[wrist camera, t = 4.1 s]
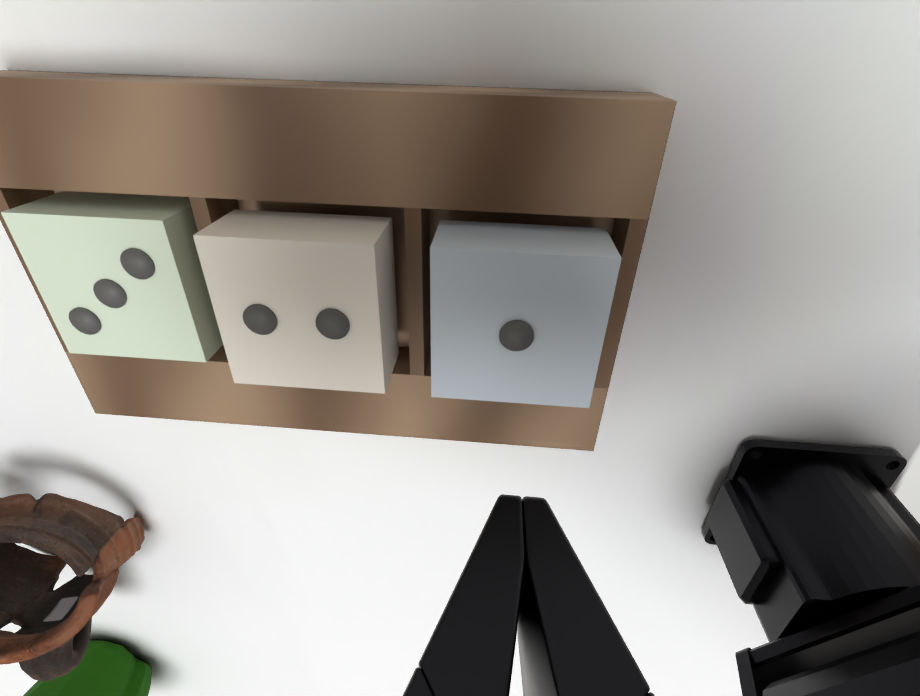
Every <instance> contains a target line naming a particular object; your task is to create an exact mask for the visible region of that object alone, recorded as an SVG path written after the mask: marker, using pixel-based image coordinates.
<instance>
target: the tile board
mask: <svg viewBox="0 0 920 696" xmlns="http://www.w3.org/2000/svg"><path fill="white" fill-rule="evenodd" d="M675 106H676V101H674V100H671V99H668V98H665V97H663V96H660V95H657V94H654V93H642V92H613V91H585V90H556V89H527V88H499V87H470V86H441V85H413V84H384V83H356V82H327V81H298V80H270V79H241V78H213V77H184V76H155V75H127V74H98V73H69V72H41V71H12V70H1V71H0V220H1V223H2V225H3V227H4V229H5V231H6V233H7V235H8V237H9V239H10V241H11V243H12V245H13V247H14V249H15V251H16V253H17V255H18V257H19V259H20V261H21V263H22V265H23V267H24V269H25V271H26V273H27V275H28V277H29V279H30V281H31V283H32V285H33V287H34V289H35V291H36V293H37V295H38V298H39V300H40V302H41V304H42V306H43V308H44V310H45V312H46V314H47V316H48V318H49V320H50V322H51V324H52V326H53V328H54V330H55V332H56V334H57V336H58V338H59V340H60V342H61V344H62V346H63V348H64V350H65V352H66V354H67V356H68V358H69V360H70V362H71V364H72V366H73V368H74V370H75V373H76V375H77V377H78V379H79V381H80V383H81V385H82V387H83V389H84V391H85V393H86V395H87V397H88V399H89V401H90V403H91V405H92V407H93V409H94V411H95V413H98V414H111V415H125V416H138V417H151V418H164V419H178V420H191V421H204V422H217V423H231V424H244V425H257V426H270V427H284V428H297V429H310V430H323V431H336V432H350V433H363V434H376V435H389V436H403V437H416V438H429V439H442V440H456V441H469V442H482V443H495V444H509V445H522V446H535V447H548V448H561V449H575V450H588V451H593V450H594V446H595V442H596V438H597V433H598V429H599V425H600V421H601V417H602V412H603V408H604V404H605V400H606V396H607V391H608V387H609V383H610V379H611V375H612V370H613V366H614V362H615V358H616V354H617V349H618V345H619V341H620V337H621V333H622V328H623V324H624V320H625V316H626V312H627V307H628V303H629V299H630V295H631V291H632V286H633V282H634V278H635V274H636V270H637V265H638V261H639V257H640V253H641V249H642V244H643V240H644V236H645V232H646V228H647V223H648V219H649V215H650V211H651V206H652V202H653V198H654V194H655V190H656V185H657V181H658V177H659V173H660V169H661V164H662V160H663V156H664V152H665V148H666V143H667V139H668V135H669V131H670V127H671V122H672V118H673V114H674V110H675ZM62 191H69V192H89V193H109V194H130V195H150V196H170V197H189V200H190V203H191V207H192V211H193V214H194V218H195V222H196V225H197V229H198V232H199V231H200V230H202V229H204V228H205V227H207V226H208V225H210V224H212V223H213V222H215V221H217V220H218V219H220V218H221V217H223V216H225V215H226V214H228V213H230V212H231V211H233V210H234V209H235V210H255V211H275V212H295V213H315V214H335V215H355V216H374V217H392V227H393V246H394V266H395V285H396V305H397V325H398V344H399V355H398V358H397V360H396V363H395V366H394V369H393V372H392V375H391V378H390V381H389V384H388V386H387V389H386V392H385V394H382V393H368V392H354V391H339V390H325V389H311V388H297V387H283V386H269V385H255V384H240V383H234V380H233V377H232V373H231V370H230V366H229V363H228V359H227V356H226V352H225V348H224V345H222V346H221V347H220V348H219V350H218V351H217V352H216V353H215V354H214V355H213V356H212V357H211V358H210V359H209V360H208V361H207V362H192V361H178V360H163V359H149V358H134V357H120V356H105V355H90V354H76V353H69V351H68V349H67V347H66V345H65V343H64V341H63V339H62V337H61V335H60V333H59V331H58V329H57V327H56V325H55V323H54V321H53V319H52V317H51V314H50V312H49V310H48V308H47V306H46V304H45V302H44V300H43V298H42V296H41V294H40V292H39V290H38V288H37V286H36V284H35V282H34V280H33V278H32V276H31V274H30V272H29V269H28V267H27V265H26V263H25V261H24V259H23V257H22V255H21V253H20V251H19V249H18V247H17V245H16V243H15V241H14V239H13V237H12V235H11V233H10V231H9V229H8V227H7V224H6V222H5V220H4V218H3V216H2V214H1V212H3V211H6V210H9V209H12V208H15V207H18V206H20V205H23V204H26V203H29V202H32V201H35V200H38V199H41V198H44V197H47V196H50V195H53V194H56V193H59V192H62ZM440 220H454V221H474V222H494V223H513V224H533V225H553V226H573V227H593V228H606V230H607V232H608V233H609V235H610V237H611V239H612V241H613V243H614V245H615V247H616V248H617V250H618V252H619V254H620V256H621V258H622V259H621V264H620V268H619V273H618V278H617V282H616V287H615V292H614V296H613V301H612V305H611V310H610V315H609V319H608V324H607V328H606V333H605V338H604V342H603V347H602V351H601V356H600V361H599V365H598V370H597V374H596V379H595V384H594V388H593V393H592V397H591V402H590V407H589V408H580V407H565V406H551V405H537V404H523V403H509V402H495V401H481V400H467V399H452V398H438V397H431V310H430V246H431V244H432V241H433V238H434V236H435V233H436V230H437V228H438V225H439V222H440Z"/></svg>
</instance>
